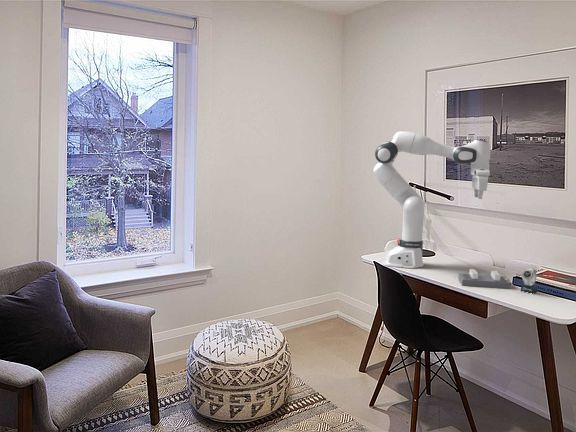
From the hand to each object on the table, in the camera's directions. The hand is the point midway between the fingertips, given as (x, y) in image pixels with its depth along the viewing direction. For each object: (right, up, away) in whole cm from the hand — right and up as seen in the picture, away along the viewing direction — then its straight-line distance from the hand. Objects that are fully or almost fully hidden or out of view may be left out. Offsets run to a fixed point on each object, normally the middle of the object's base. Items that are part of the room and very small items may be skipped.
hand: (478, 198), depth 255 cm
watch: (+12, -45, -29) cm, 55 cm away
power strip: (-4, -42, -17) cm, 46 cm away
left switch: (-9, -39, -17) cm, 43 cm away
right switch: (+1, -39, -19) cm, 44 cm away
